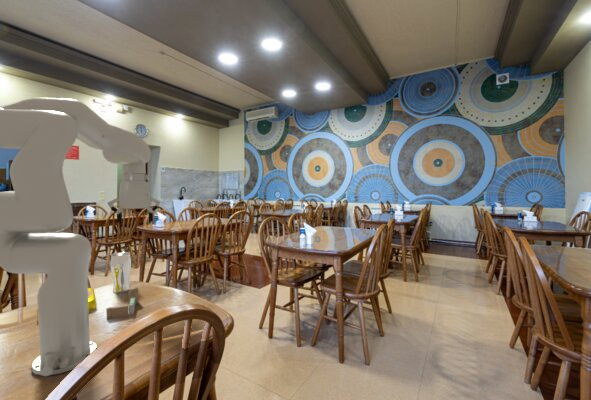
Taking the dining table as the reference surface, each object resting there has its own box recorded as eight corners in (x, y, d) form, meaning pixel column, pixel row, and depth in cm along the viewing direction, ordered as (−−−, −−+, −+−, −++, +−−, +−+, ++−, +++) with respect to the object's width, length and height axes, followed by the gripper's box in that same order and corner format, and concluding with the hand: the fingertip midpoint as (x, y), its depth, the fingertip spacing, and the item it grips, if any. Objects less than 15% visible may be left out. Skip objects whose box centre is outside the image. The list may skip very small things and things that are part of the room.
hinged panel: (137, 311, 94) (136, 295, 94) (126, 313, 93) (126, 297, 93) (138, 301, 103) (138, 286, 102) (129, 302, 101) (129, 287, 101)
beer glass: (107, 291, 112) (106, 255, 112) (123, 286, 119) (122, 251, 118) (119, 294, 110) (118, 256, 109) (135, 288, 116) (134, 252, 115)
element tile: (96, 312, 96) (95, 298, 96) (37, 325, 87) (36, 310, 86) (93, 297, 108) (93, 285, 107) (41, 308, 98) (40, 295, 98)
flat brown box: (172, 317, 92) (172, 306, 92) (102, 330, 83) (102, 318, 83) (169, 296, 109) (169, 286, 109) (111, 305, 100) (110, 295, 100)
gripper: (159, 178, 113) (160, 221, 114) (108, 178, 105) (109, 223, 106) (160, 178, 106) (161, 223, 107) (105, 178, 98) (106, 226, 99)
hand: (135, 223), depth 106 cm, fingers open, 9 cm apart
